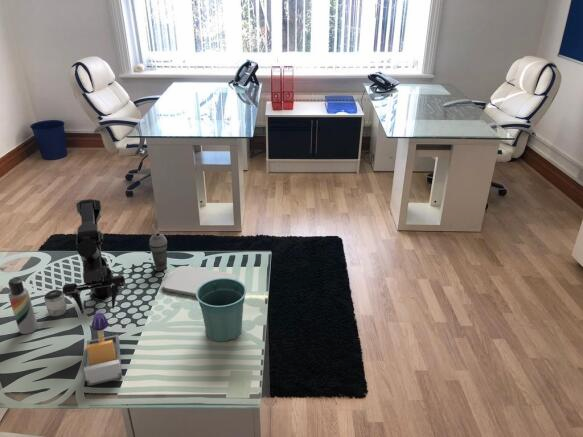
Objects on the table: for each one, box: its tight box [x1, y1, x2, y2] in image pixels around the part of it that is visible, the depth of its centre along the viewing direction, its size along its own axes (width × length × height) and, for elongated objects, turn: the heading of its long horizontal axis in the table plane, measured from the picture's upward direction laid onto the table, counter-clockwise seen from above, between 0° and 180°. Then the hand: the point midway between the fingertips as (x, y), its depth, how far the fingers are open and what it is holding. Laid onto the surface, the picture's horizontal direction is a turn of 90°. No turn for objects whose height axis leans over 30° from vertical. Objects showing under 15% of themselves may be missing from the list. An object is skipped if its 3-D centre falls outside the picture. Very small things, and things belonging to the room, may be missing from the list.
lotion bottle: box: [7, 277, 39, 335], centre depth 158 cm, size 6×6×20 cm
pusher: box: [86, 340, 116, 366], centre depth 145 cm, size 1×7×8 cm, turn 111°
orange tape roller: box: [83, 334, 123, 387], centre depth 148 cm, size 18×10×6 cm, turn 20°
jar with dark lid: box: [43, 289, 67, 317], centre depth 169 cm, size 6×6×8 cm
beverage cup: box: [148, 224, 168, 271], centre depth 193 cm, size 7×7×20 cm
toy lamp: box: [91, 312, 109, 343], centre depth 146 cm, size 5×5×17 cm
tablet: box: [162, 265, 237, 297], centre depth 187 cm, size 16×26×2 cm, turn 75°
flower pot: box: [195, 278, 247, 342], centre depth 160 cm, size 16×16×16 cm
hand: (98, 311), depth 154 cm, fingers open, 9 cm apart
